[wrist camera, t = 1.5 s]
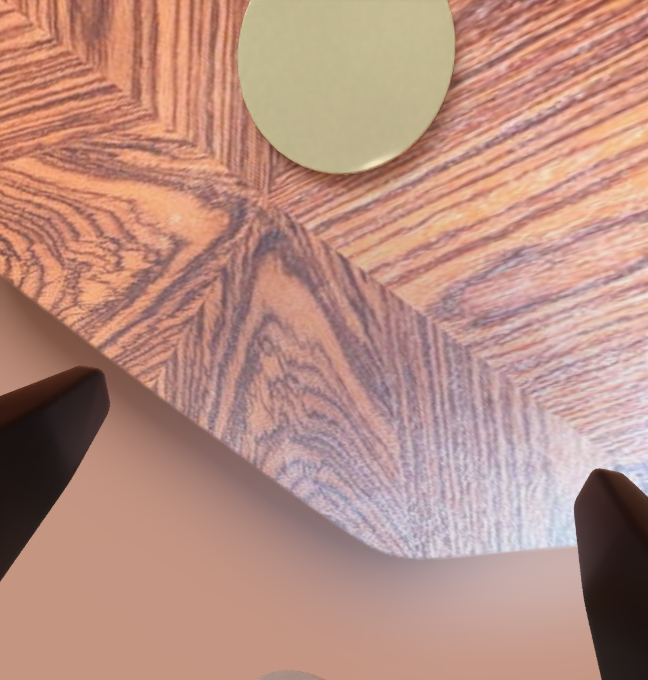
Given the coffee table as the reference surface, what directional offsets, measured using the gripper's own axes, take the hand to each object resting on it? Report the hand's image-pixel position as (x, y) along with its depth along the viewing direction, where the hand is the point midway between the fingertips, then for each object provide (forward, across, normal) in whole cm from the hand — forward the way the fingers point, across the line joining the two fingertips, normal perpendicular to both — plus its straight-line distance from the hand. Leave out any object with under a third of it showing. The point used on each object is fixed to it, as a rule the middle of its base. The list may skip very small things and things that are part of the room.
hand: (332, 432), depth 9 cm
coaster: (+17, +3, -5) cm, 18 cm away
